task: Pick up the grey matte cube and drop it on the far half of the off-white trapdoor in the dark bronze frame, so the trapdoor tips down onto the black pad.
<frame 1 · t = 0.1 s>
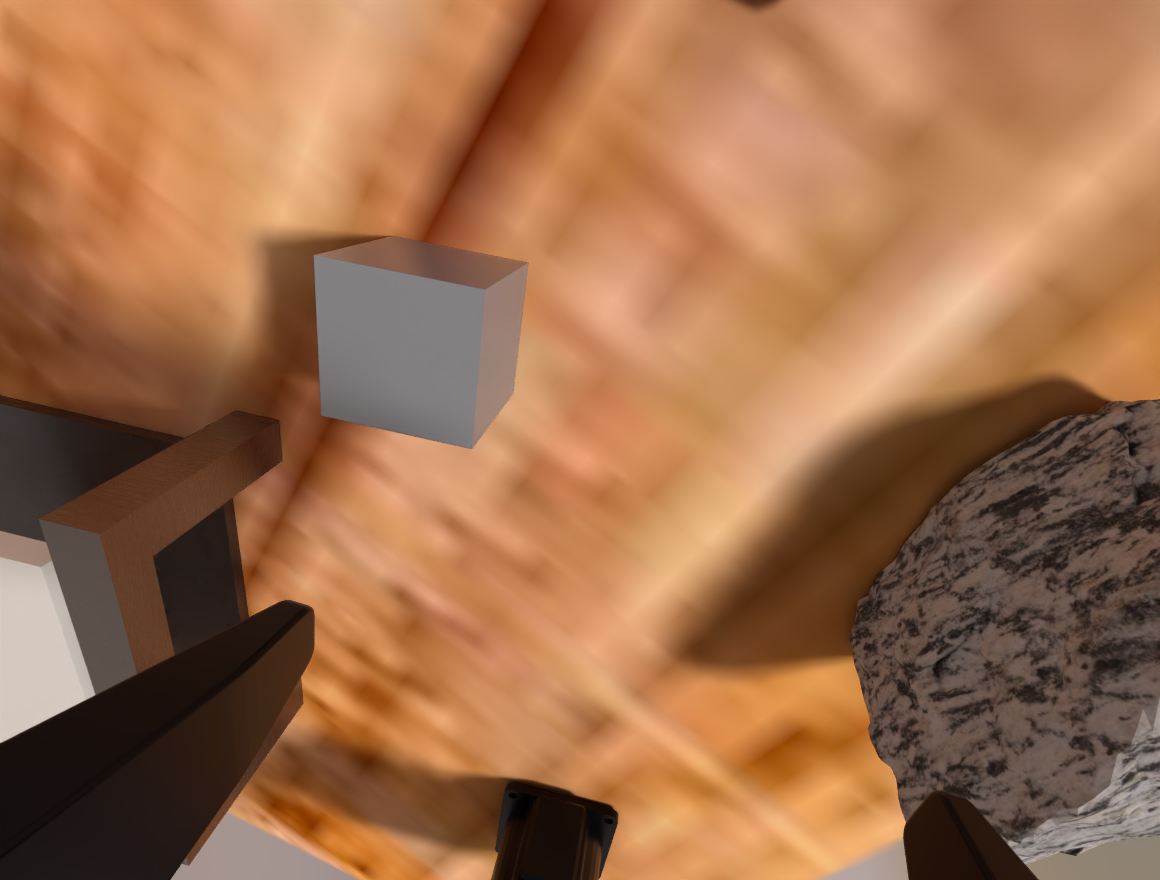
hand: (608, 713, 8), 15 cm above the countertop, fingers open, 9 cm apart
grey matte cube: (456, 317, 22), on the countertop
trapdoor: (6, 656, 25), point 6 cm above the countertop, hinge at 0.0°
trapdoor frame: (118, 538, 29), on the countertop
rock: (994, 554, 22), on the countertop
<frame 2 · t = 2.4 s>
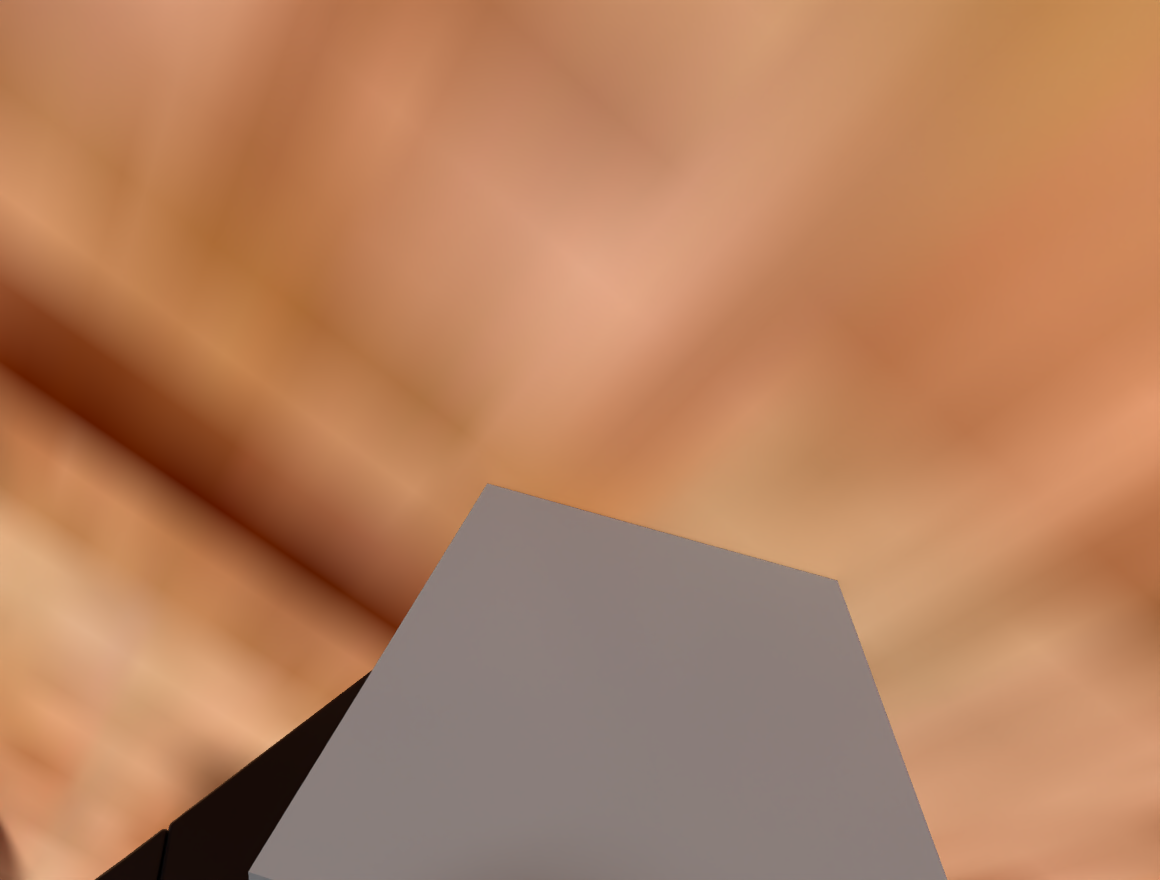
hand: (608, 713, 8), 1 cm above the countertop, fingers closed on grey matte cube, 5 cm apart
grey matte cube: (616, 656, 9), on the countertop, touching gripper
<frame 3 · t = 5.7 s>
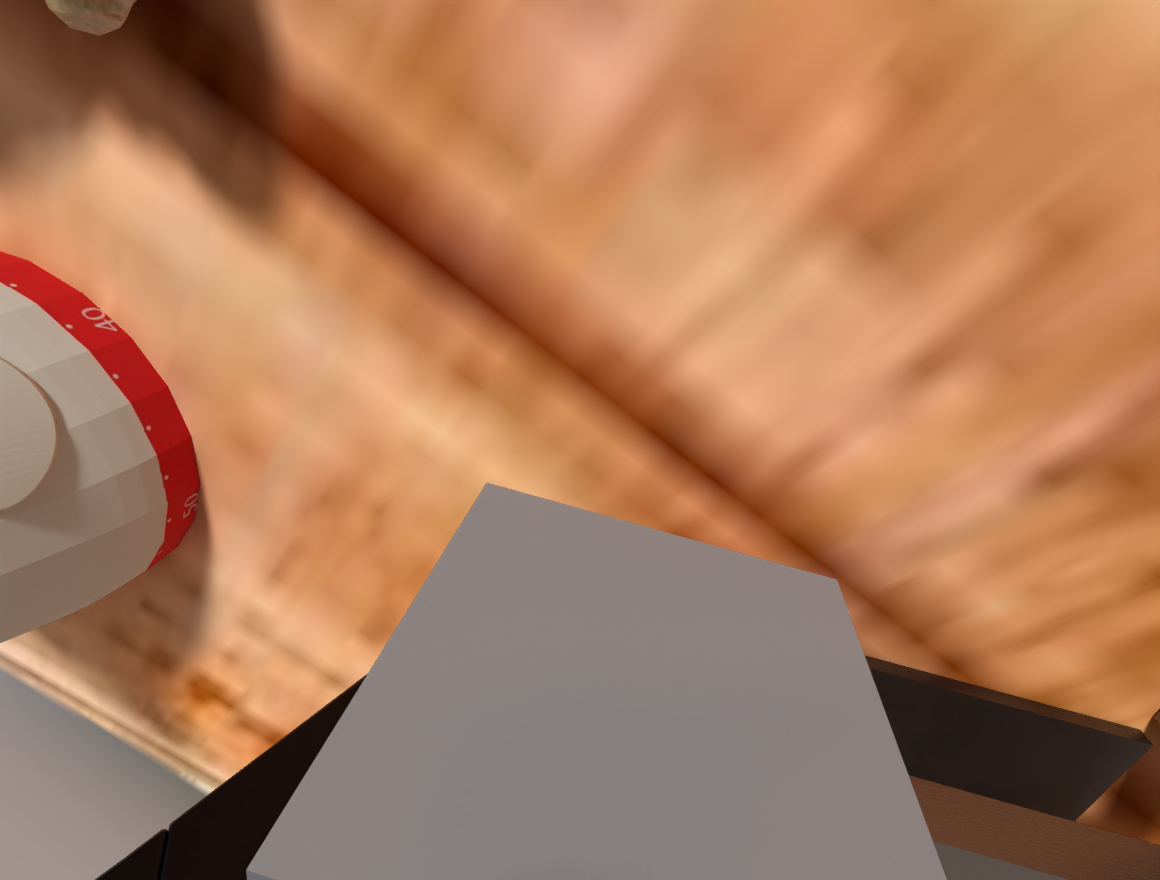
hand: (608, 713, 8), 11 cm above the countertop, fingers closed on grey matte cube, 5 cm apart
grey matte cube: (615, 655, 9), point 10 cm above the countertop, touching gripper
kitchen timer: (40, 423, 23), on the countertop
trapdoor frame: (865, 788, 24), on the countertop
when the fingers open (11 cm above the countertop, at t = 8.3 s): grey matte cube drops 7 cm, resting on trapdoor.
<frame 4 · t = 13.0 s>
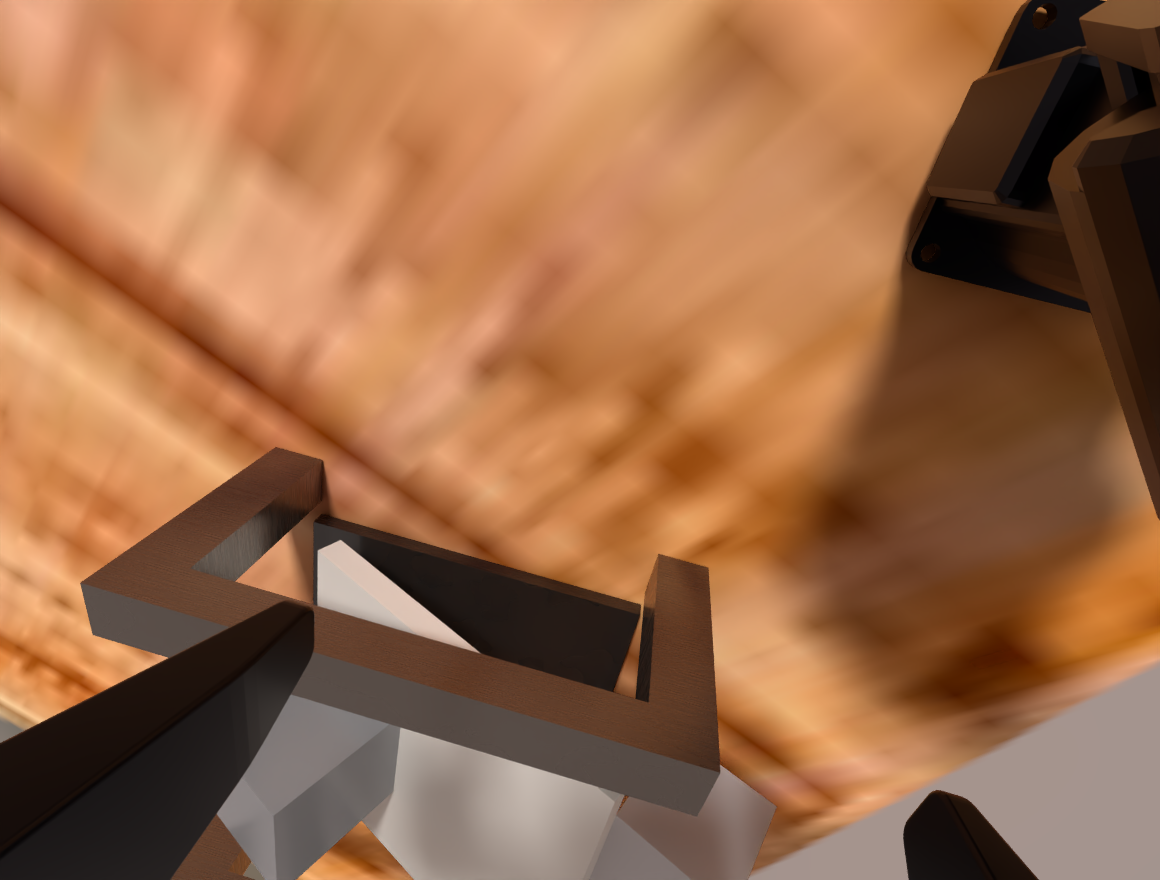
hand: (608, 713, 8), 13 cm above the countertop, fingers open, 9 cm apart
grey matte cube: (358, 715, 24), point 4 cm above the countertop, tilted 26°, touching trapdoor
trapdoor: (505, 769, 24), point 4 cm above the countertop, hinge at -26.1°, touching grey matte cube
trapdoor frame: (460, 669, 27), on the countertop
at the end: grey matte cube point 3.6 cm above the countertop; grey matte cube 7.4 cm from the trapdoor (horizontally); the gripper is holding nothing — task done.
